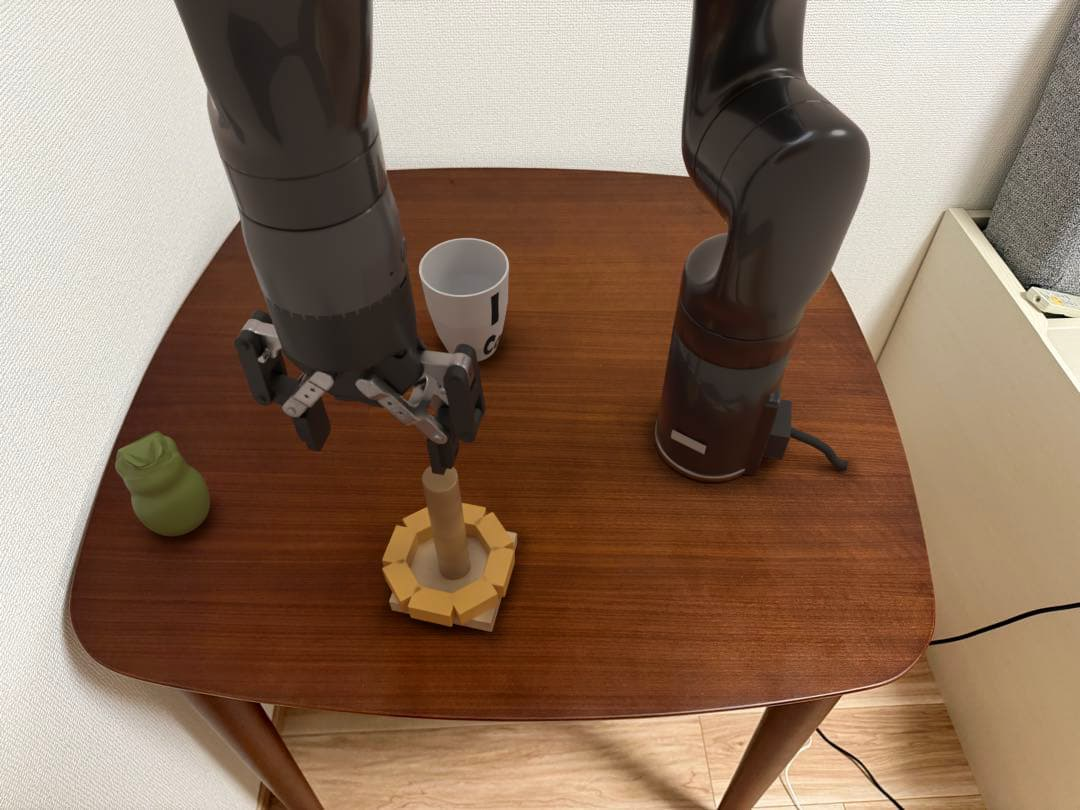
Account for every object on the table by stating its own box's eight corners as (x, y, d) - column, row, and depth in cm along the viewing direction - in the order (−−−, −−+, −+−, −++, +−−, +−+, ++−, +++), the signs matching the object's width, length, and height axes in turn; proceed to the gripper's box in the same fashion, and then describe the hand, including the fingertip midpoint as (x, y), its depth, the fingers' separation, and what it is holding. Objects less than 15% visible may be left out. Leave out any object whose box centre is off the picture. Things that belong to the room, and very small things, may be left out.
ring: (525, 527, 66) (524, 515, 65) (493, 636, 60) (492, 625, 59) (412, 504, 67) (409, 491, 66) (370, 608, 61) (366, 597, 60)
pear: (163, 560, 66) (114, 489, 58) (141, 515, 69) (90, 442, 61) (229, 524, 68) (189, 452, 60) (204, 482, 71) (163, 408, 63)
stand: (517, 542, 67) (512, 441, 57) (491, 632, 62) (481, 539, 51) (424, 523, 68) (402, 421, 58) (391, 610, 63) (361, 515, 53)
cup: (501, 379, 78) (497, 302, 71) (420, 367, 79) (407, 289, 72) (520, 321, 84) (517, 243, 76) (443, 310, 85) (433, 233, 77)
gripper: (167, 288, 40) (257, 478, 53) (443, 333, 38) (469, 520, 51) (237, 199, 45) (304, 392, 57) (486, 234, 43) (500, 427, 55)
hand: (381, 452), depth 54 cm, fingers open, 8 cm apart
